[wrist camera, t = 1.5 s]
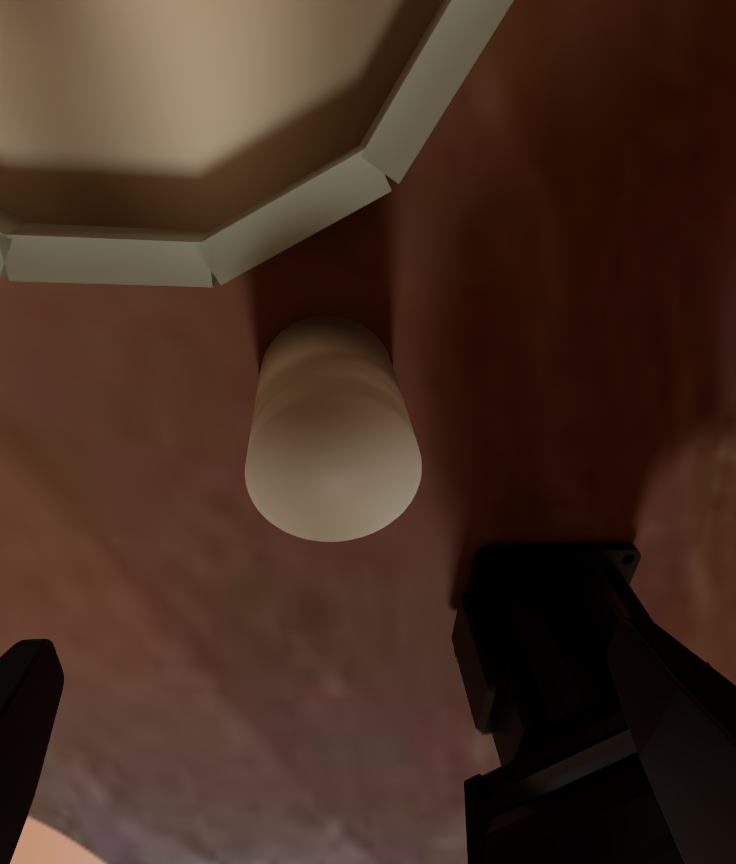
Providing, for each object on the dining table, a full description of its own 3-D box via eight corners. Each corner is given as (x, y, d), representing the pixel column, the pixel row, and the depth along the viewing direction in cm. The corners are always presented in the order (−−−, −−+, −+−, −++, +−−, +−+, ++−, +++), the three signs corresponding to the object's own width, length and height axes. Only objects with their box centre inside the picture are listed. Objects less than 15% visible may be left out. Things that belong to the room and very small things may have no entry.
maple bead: (398, 316, 16) (432, 398, 12) (387, 435, 18) (412, 540, 14) (257, 313, 15) (239, 396, 11) (262, 434, 18) (249, 543, 13)
